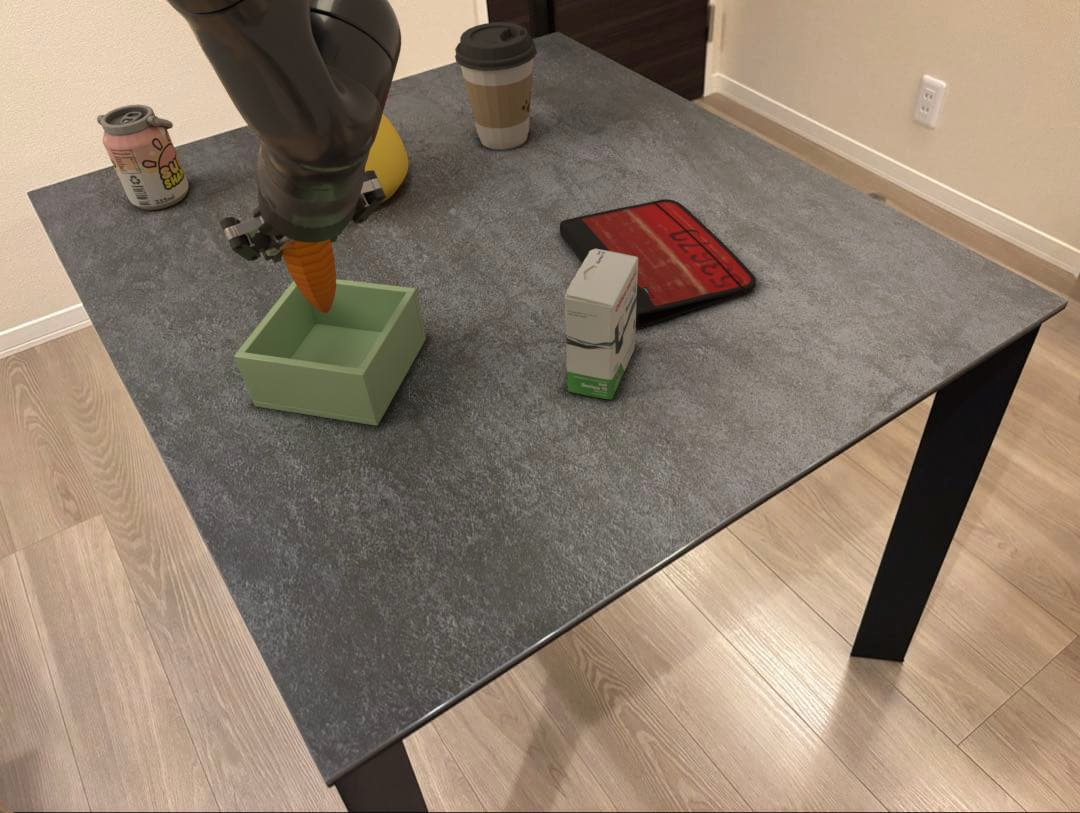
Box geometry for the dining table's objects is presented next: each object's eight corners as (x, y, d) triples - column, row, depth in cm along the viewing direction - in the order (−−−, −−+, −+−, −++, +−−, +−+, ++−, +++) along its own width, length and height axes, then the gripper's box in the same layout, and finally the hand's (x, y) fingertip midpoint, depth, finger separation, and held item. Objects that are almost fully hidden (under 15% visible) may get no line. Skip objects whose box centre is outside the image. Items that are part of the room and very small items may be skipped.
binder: (636, 313, 87) (558, 219, 101) (635, 331, 89) (558, 235, 103) (766, 278, 91) (673, 192, 106) (762, 295, 93) (671, 208, 107)
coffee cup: (541, 154, 118) (535, 48, 108) (462, 158, 119) (448, 53, 108) (542, 118, 126) (536, 16, 116) (468, 122, 127) (455, 21, 116)
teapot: (283, 152, 124) (256, 60, 114) (401, 133, 126) (384, 41, 116) (284, 241, 106) (251, 141, 96) (420, 217, 108) (402, 117, 98)
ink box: (612, 402, 81) (612, 306, 73) (565, 392, 83) (560, 296, 75) (637, 347, 87) (640, 252, 79) (592, 338, 89) (591, 244, 80)
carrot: (346, 327, 80) (305, 187, 69) (295, 329, 80) (247, 190, 69) (355, 296, 83) (317, 158, 73) (306, 298, 83) (262, 161, 73)
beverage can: (151, 177, 120) (117, 97, 112) (205, 179, 119) (174, 98, 111) (119, 211, 114) (80, 129, 106) (175, 213, 113) (140, 130, 104)
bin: (377, 426, 81) (363, 375, 76) (254, 406, 84) (233, 356, 79) (426, 338, 90) (416, 288, 85) (314, 323, 93) (298, 274, 89)
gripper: (377, 104, 64) (354, 182, 80) (194, 160, 59) (208, 231, 75) (418, 193, 64) (386, 253, 80) (238, 256, 60) (243, 306, 76)
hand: (300, 242), depth 78 cm, fingers closed on carrot, 5 cm apart
